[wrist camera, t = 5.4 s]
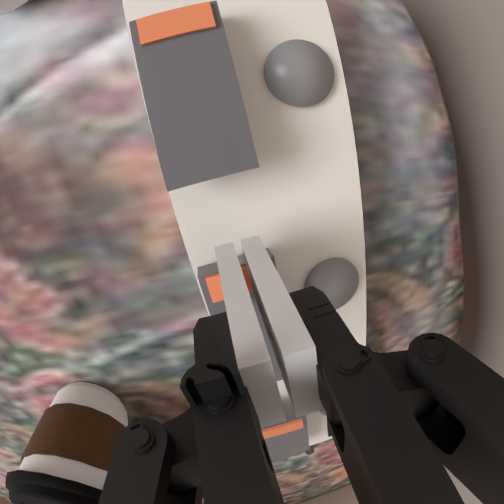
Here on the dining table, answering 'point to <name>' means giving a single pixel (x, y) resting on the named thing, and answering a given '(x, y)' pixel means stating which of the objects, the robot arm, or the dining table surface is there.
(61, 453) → the coffee cup
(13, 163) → the dining table surface
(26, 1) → the spread jar
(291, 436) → the rocker
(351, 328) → the power strip
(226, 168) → the grey flat rectangular block
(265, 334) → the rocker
